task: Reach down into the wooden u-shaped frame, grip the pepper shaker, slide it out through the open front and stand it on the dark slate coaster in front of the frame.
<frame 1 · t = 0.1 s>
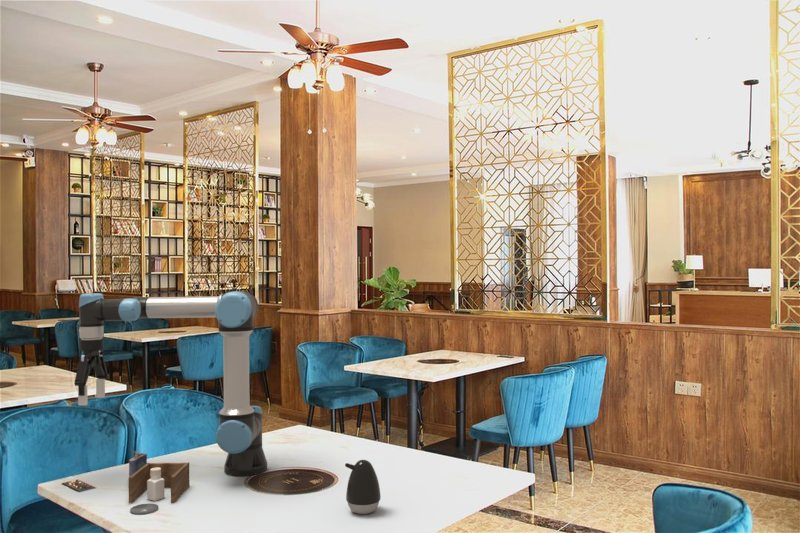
hand: (92, 401, 232), 28 cm above the table, tool pointing down, fingers open, 13 cm apart
wooden u-shaped frame: (160, 494, 219), on the table
flask: (137, 483, 232), on the table
pepper shaker: (155, 499, 215), on the table
pump dispenser: (363, 512, 202), on the table
slate coaster: (144, 509, 205), on the table
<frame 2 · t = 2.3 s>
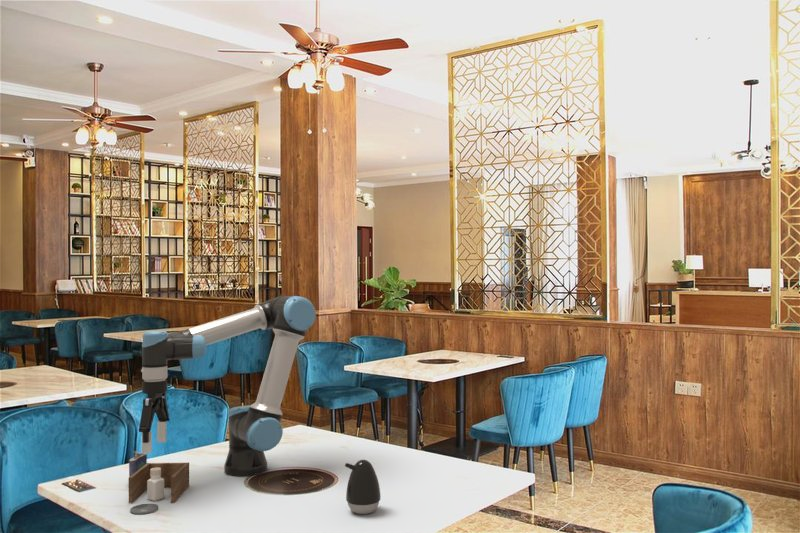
hand: (154, 447, 215), 16 cm above the table, tool pointing down, fingers open, 13 cm apart
nothing on the table moved.
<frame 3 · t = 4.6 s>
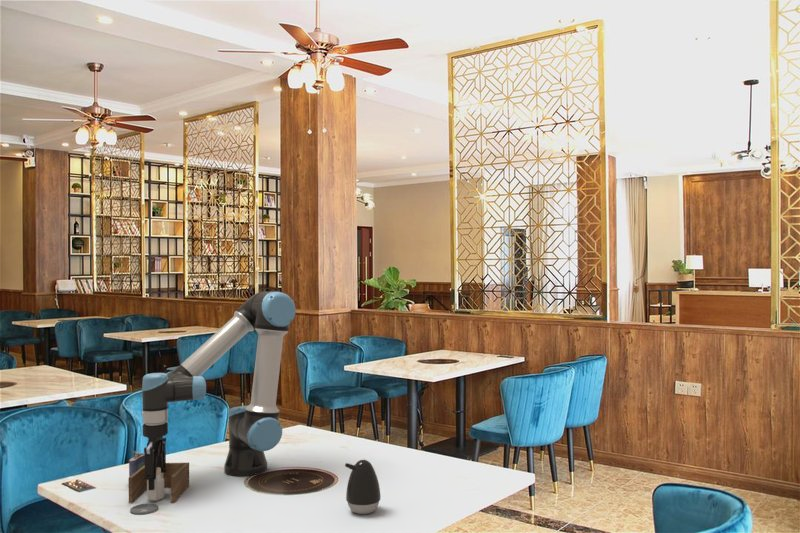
hand: (155, 496, 215), 1 cm above the table, tool pointing down, fingers closed on pepper shaker, 5 cm apart
pepper shaker: (155, 499, 215), on the table, touching gripper
everything else where it was.
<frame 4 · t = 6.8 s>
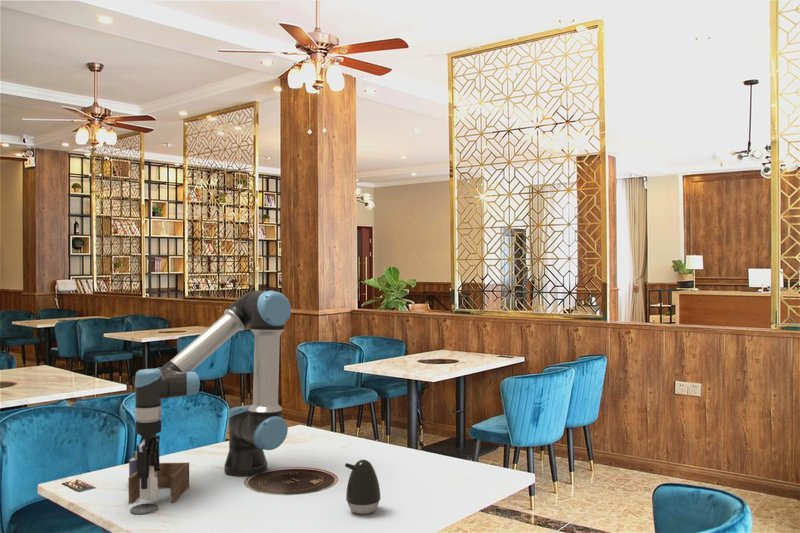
hand: (148, 495, 209), 3 cm above the table, tool pointing down, fingers closed on pepper shaker, 5 cm apart
pepper shaker: (148, 498, 209), point 2 cm above the table, touching gripper
everything else where it was.
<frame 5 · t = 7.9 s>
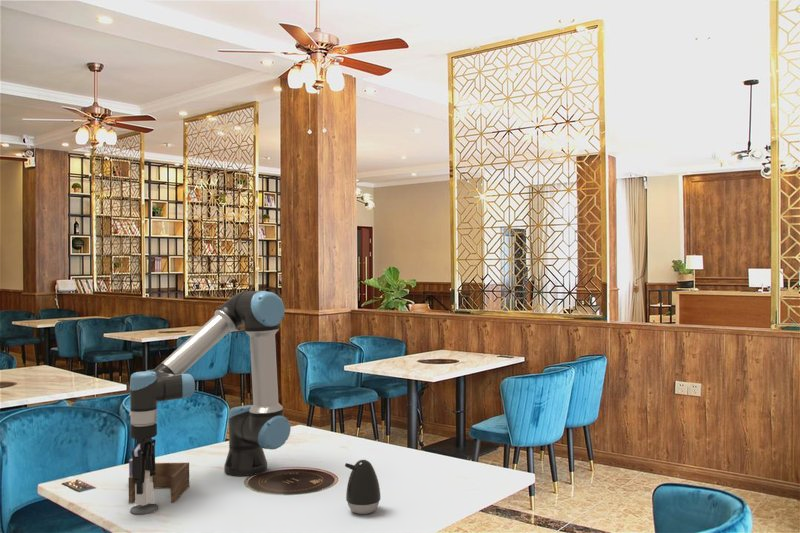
hand: (144, 500, 205), 3 cm above the table, tool pointing down, fingers closed on pepper shaker, 5 cm apart
pepper shaker: (144, 504, 205), point 2 cm above the table, touching gripper
everything else where it was.
when the fingers open (2 cm above the table, at t = 8.8 s): pepper shaker stays where it is, resting on slate coaster.
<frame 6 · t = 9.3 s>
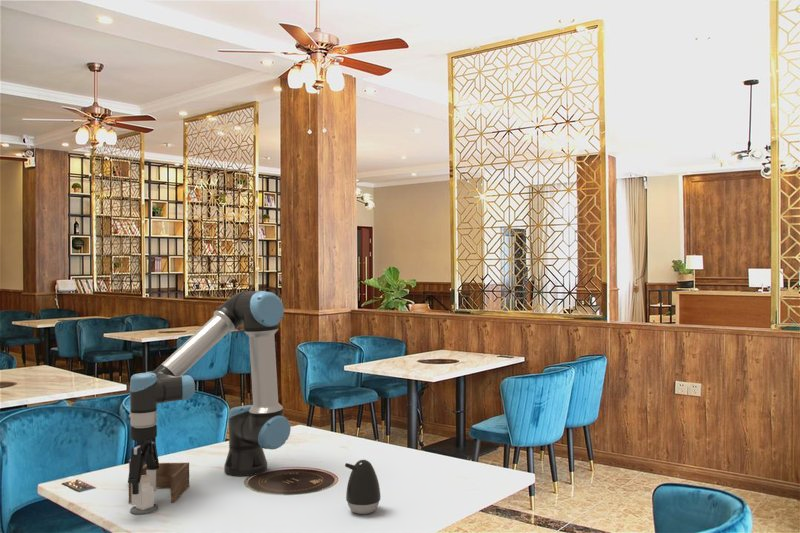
hand: (144, 497, 205), 4 cm above the table, tool pointing down, fingers open, 11 cm apart
pepper shaker: (144, 508, 205), resting on slate coaster
everything else where it was.
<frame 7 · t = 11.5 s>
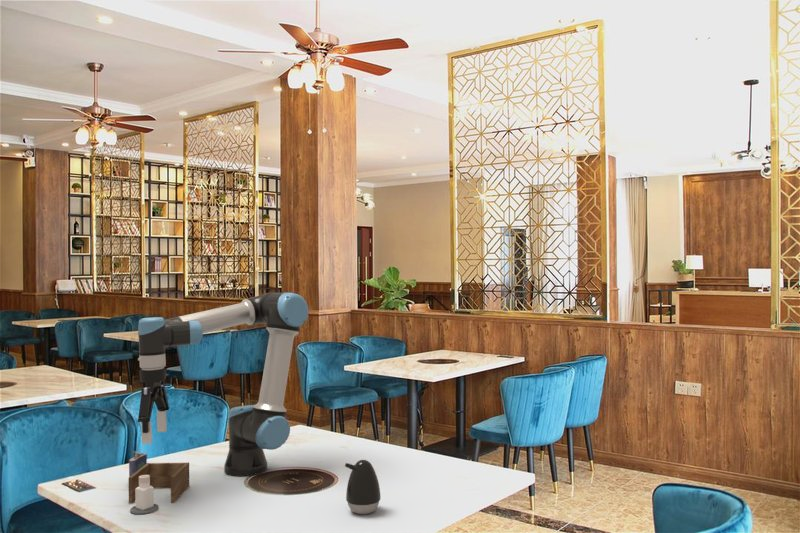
hand: (154, 437, 209), 21 cm above the table, tool pointing down, fingers open, 13 cm apart
nothing on the table moved.
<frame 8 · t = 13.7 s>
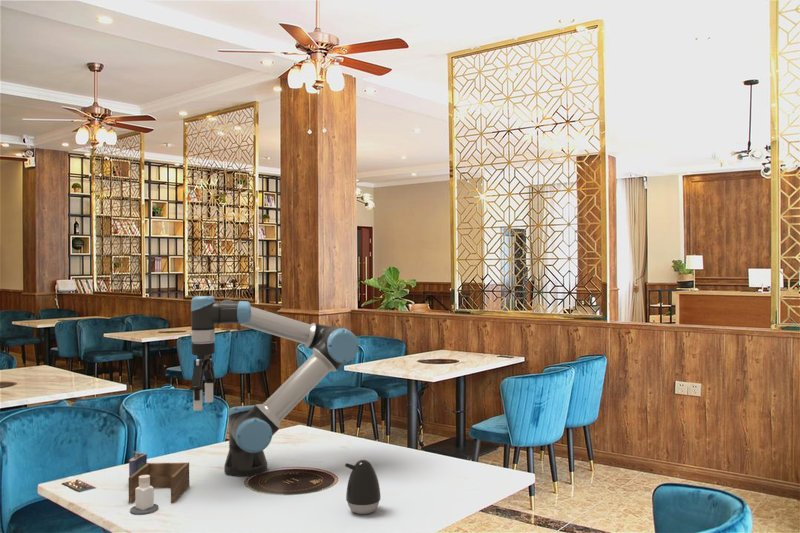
hand: (203, 406, 227), 27 cm above the table, tool pointing down, fingers open, 13 cm apart
nothing on the table moved.
at the end: pepper shaker 0.1 cm off-centre on the slate coaster, point 0.4 cm above the slate coaster's base; pepper shaker tilted 0°; the gripper is holding nothing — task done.
